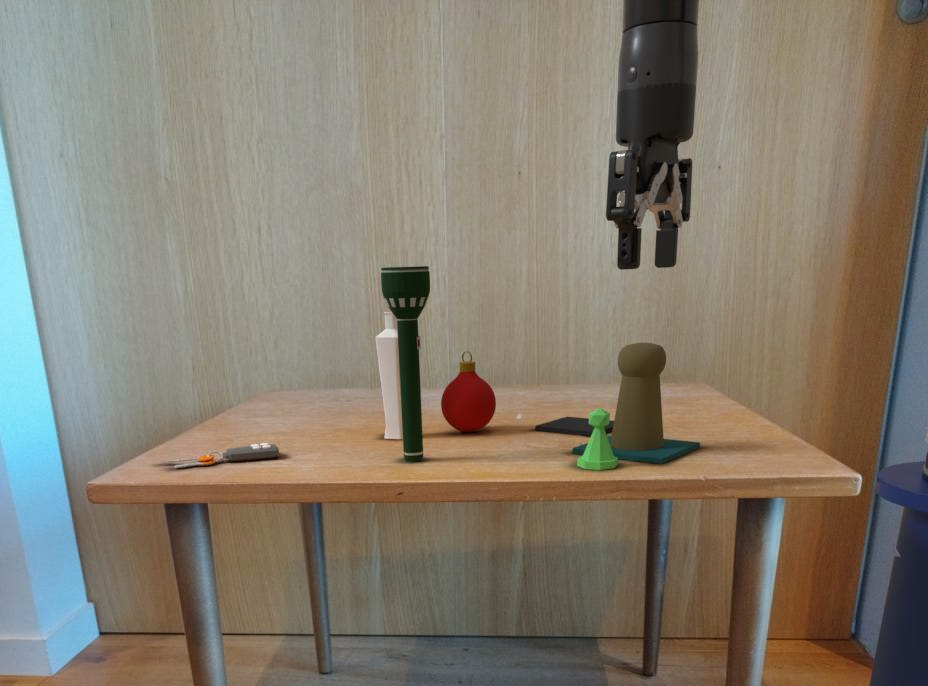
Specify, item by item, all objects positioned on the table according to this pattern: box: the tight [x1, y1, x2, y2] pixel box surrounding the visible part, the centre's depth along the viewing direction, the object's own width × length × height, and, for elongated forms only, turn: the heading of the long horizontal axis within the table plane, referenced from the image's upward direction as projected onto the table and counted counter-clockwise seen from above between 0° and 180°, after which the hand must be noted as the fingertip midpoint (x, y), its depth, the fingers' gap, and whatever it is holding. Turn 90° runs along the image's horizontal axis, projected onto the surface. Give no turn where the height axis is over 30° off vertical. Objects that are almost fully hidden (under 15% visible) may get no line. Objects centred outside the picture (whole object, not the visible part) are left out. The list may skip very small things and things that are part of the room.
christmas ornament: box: [440, 350, 497, 433], centre depth 109 cm, size 7×7×10 cm
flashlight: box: [380, 265, 431, 463], centre depth 92 cm, size 5×5×20 cm
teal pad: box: [571, 434, 701, 465], centre depth 97 cm, size 11×10×1 cm
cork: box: [610, 342, 667, 450], centre depth 94 cm, size 6×6×11 cm
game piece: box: [576, 407, 619, 471], centre depth 89 cm, size 4×4×6 cm
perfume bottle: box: [374, 311, 403, 440], centre depth 106 cm, size 5×4×15 cm
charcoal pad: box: [534, 416, 614, 437], centre depth 110 cm, size 9×8×1 cm
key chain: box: [162, 442, 280, 469], centre depth 98 cm, size 13×4×2 cm, turn 111°
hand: (647, 268), depth 89 cm, fingers open, 8 cm apart
